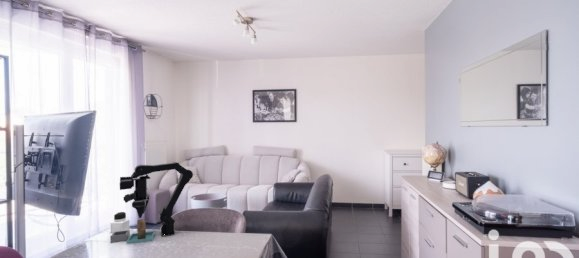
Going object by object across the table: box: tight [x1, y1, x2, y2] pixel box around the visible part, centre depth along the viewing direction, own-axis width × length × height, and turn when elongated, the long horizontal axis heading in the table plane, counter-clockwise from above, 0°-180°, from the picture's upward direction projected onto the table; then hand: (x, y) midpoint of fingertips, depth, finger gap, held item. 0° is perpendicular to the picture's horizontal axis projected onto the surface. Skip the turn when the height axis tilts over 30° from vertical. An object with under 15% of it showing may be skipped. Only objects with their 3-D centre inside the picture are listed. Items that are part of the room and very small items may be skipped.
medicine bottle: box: [110, 211, 130, 234], centre depth 171 cm, size 7×7×12 cm
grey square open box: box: [110, 229, 131, 244], centre depth 156 cm, size 8×8×4 cm
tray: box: [126, 231, 156, 245], centre depth 157 cm, size 12×12×2 cm
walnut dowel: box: [136, 218, 147, 239], centre depth 157 cm, size 4×4×10 cm
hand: (141, 215), depth 159 cm, fingers open, 9 cm apart
